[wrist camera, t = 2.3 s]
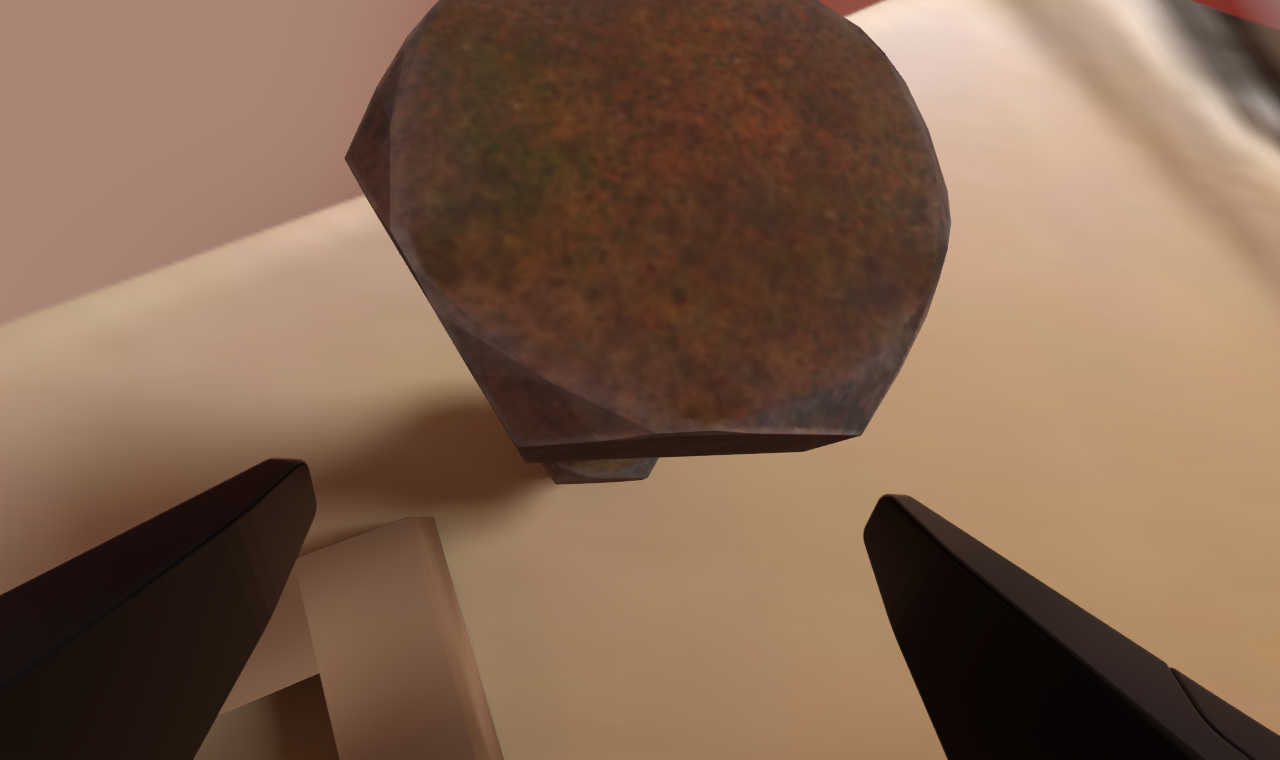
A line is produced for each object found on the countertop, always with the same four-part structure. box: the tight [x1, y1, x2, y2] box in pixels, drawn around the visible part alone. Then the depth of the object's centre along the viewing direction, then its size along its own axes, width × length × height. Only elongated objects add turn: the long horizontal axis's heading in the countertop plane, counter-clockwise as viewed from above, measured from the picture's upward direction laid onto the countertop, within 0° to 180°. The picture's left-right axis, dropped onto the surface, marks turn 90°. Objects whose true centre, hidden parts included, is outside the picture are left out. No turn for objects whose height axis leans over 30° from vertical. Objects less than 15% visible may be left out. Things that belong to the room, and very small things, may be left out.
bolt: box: [345, 0, 951, 484], centre depth 11 cm, size 6×5×15 cm
